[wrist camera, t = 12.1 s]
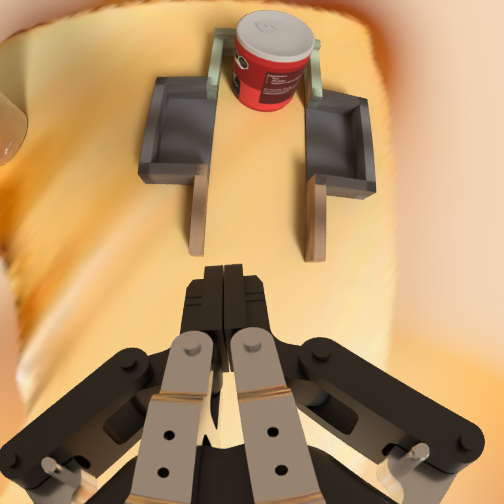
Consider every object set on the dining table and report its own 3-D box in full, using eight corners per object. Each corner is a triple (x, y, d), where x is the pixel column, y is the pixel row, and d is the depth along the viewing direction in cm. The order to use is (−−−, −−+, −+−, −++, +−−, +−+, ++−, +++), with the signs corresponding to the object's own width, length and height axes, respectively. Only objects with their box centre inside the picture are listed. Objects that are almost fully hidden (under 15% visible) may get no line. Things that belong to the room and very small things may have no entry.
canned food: (245, 59, 35) (254, 1, 24) (301, 81, 35) (324, 27, 24) (220, 99, 34) (221, 40, 23) (280, 123, 34) (302, 69, 23)
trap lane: (363, 264, 34) (381, 263, 29) (138, 252, 31) (126, 249, 27) (350, 68, 36) (362, 50, 32) (172, 49, 34) (168, 28, 29)
